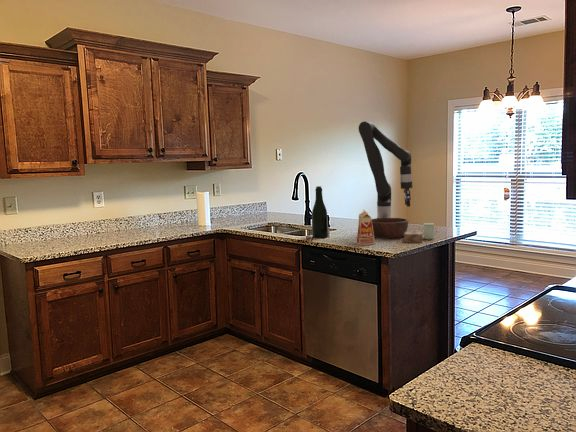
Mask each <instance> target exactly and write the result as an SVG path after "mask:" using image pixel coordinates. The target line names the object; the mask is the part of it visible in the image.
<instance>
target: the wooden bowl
mask: <svg viewBox="0 0 576 432" xmlns="http://www.w3.org/2000/svg"><path fill="white" fill-rule="evenodd" d="M371 219H372V225H373V232H374V238H378V239H397V238H399V239H400V238H403V237H404V234H405V232H408V228H409V219H407V218H403V217H391V218H377V217H376V218H371Z"/></svg>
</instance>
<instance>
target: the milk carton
mask: <svg viewBox="0 0 576 432" xmlns="http://www.w3.org/2000/svg"><path fill="white" fill-rule="evenodd" d="M372 219H373V218H372V216H370V215H369V213H368V212H367V211H366V210H365V209H364V208H363V209H362V211H361V213H359V214H358V227H357V233H356V234H357V235H356V241H355V243H356V244H357V245H359V246H360V245H362V246H363V245H364V246H366V245H367V246H368V245H375V237H374V232H373V225H372Z"/></svg>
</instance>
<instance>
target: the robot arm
mask: <svg viewBox="0 0 576 432" xmlns="http://www.w3.org/2000/svg"><path fill="white" fill-rule="evenodd" d="M358 133H359V135H360V137H361V140H362V143H363V146H364V149H365V155H366V158H367V161H368V164H369V168H370V171H371V172H372V175H373V179H374V182H375V188H376V189H375V190H376V193H377V194H376V195H377V197H376V198H377V201H376V205H377V206H376V208H377V209H376V211H377V212H376V213H377V214H376V215H377V216H376V218H392V186H391V184H390V183H389V182H388V180H387V177H386V174H385V166H384V160H383V156H382V154H381V151H380V149H379V147H378V145H377V143H376V141H377V142H378V144H380V145H381V146H382V147H383V148H384V149H385V150H387V151H388V152H390V154H392V155H393V156H394V157H395V158H397V159H398V160H399V161H400V168H399V173H400V176H399V179H400V180H399V181H400V189H401V190H403V199H404V204H405V206H406V207H408V208H409V207H411V200H412V199H411V190H410V189H413V177H412V153H411V152H410V151H409V150H405V149H404V148H402V146H400V145H399V144H398V143H397V142H396V141H394V140H393V139H392V138H390V137H388V136H387V135H386V134H384V133H383V131H381V130H380V129H379V128H378V127H377V125H375V124H374V123H373V122H372V121H367V120H365V121H362V122H360V123H359V125H358Z"/></svg>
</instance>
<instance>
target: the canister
mask: <svg viewBox="0 0 576 432" xmlns="http://www.w3.org/2000/svg"><path fill="white" fill-rule="evenodd" d="M423 228H424V229H423V230H424V231H423V232H424V236H423V237H424V240H435V231H434V230H435V223H434V222H429V223H427V222H424V223H423Z"/></svg>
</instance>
